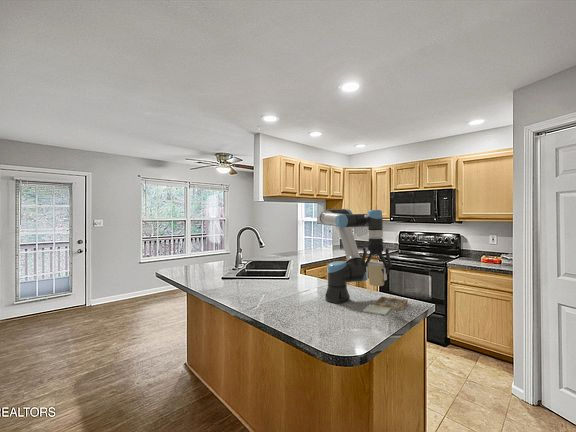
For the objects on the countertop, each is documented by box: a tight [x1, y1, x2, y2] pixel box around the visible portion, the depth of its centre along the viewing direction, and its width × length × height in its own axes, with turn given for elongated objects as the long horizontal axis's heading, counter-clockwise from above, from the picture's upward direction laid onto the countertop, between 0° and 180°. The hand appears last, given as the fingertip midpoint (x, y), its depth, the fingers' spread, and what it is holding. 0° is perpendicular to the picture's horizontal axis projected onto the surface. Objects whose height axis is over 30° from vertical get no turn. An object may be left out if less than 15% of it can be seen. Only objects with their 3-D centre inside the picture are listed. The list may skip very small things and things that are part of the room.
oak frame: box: [373, 296, 408, 311], centre depth 168 cm, size 15×15×2 cm
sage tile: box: [362, 303, 392, 316], centre depth 159 cm, size 12×12×1 cm
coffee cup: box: [368, 260, 385, 287], centre depth 159 cm, size 9×9×12 cm
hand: (376, 279), depth 159 cm, fingers closed on coffee cup, 9 cm apart
